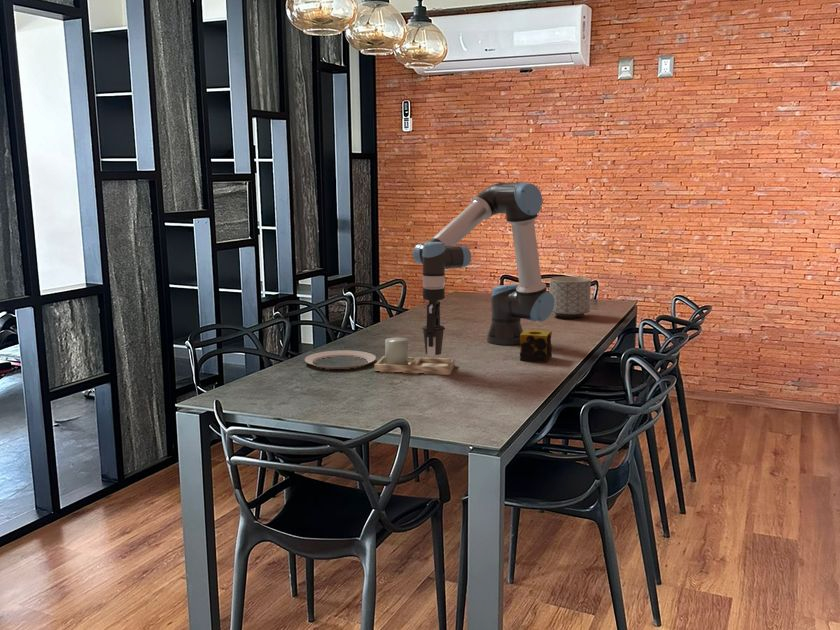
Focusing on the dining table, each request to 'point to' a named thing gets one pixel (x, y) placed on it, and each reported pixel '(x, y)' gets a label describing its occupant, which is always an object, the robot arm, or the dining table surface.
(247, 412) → the dining table surface
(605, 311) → the dining table surface
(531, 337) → the yellow die
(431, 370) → the birch caddy
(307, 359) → the plate
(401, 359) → the pale grey-green cylinder
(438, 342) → the coffee cup
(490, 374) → the dining table surface
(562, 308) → the planter
